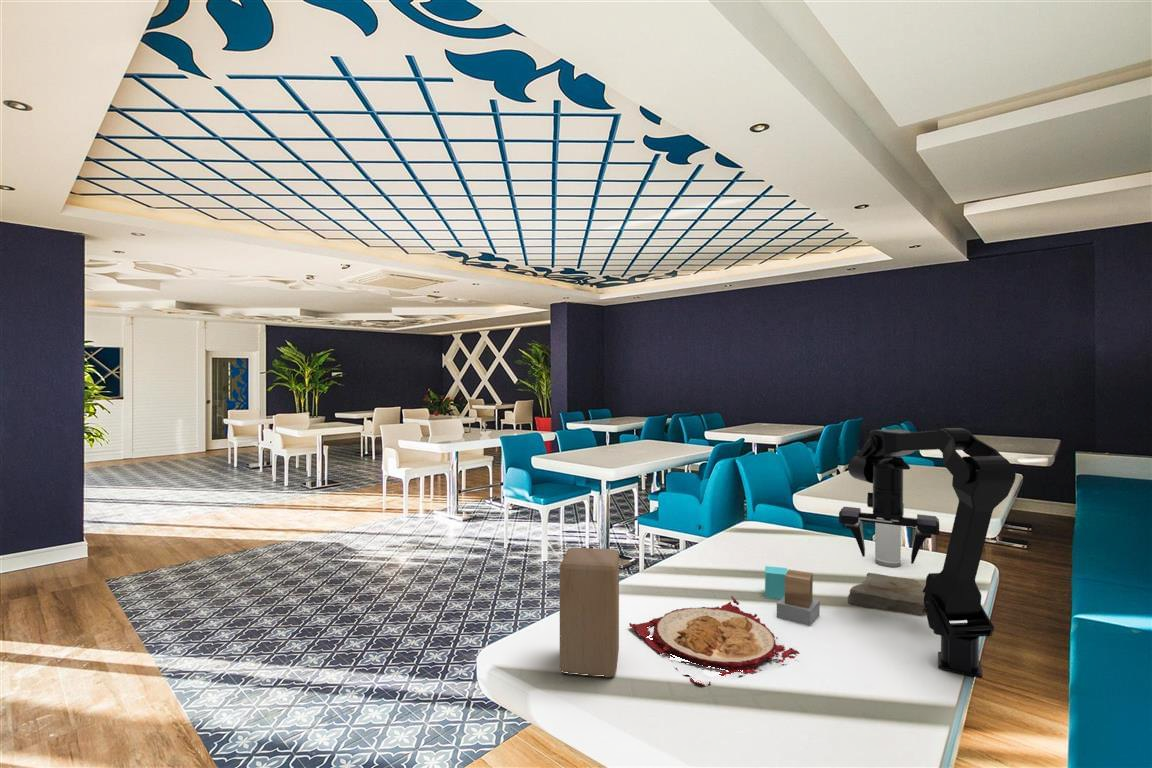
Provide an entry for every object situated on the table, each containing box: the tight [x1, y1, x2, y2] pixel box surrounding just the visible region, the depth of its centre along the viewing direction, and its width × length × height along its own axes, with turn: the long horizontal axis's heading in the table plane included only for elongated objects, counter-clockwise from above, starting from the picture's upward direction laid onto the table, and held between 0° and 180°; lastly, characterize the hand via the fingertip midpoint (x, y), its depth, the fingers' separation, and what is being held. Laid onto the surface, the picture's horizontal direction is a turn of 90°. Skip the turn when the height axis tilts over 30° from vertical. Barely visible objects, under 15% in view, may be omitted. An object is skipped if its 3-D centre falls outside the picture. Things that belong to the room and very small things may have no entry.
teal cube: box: [764, 565, 788, 600], centre depth 136 cm, size 5×5×6 cm
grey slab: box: [776, 596, 821, 627], centre depth 124 cm, size 7×7×4 cm
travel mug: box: [874, 518, 902, 568], centre depth 158 cm, size 6×7×20 cm
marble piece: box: [847, 572, 925, 616], centre depth 133 cm, size 17×15×4 cm
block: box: [559, 546, 620, 677], centre depth 103 cm, size 10×10×20 cm
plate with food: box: [628, 595, 801, 686], centre depth 112 cm, size 25×26×4 cm
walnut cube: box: [785, 569, 814, 608], centre depth 124 cm, size 5×5×6 cm
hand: (887, 559), depth 122 cm, fingers open, 9 cm apart
